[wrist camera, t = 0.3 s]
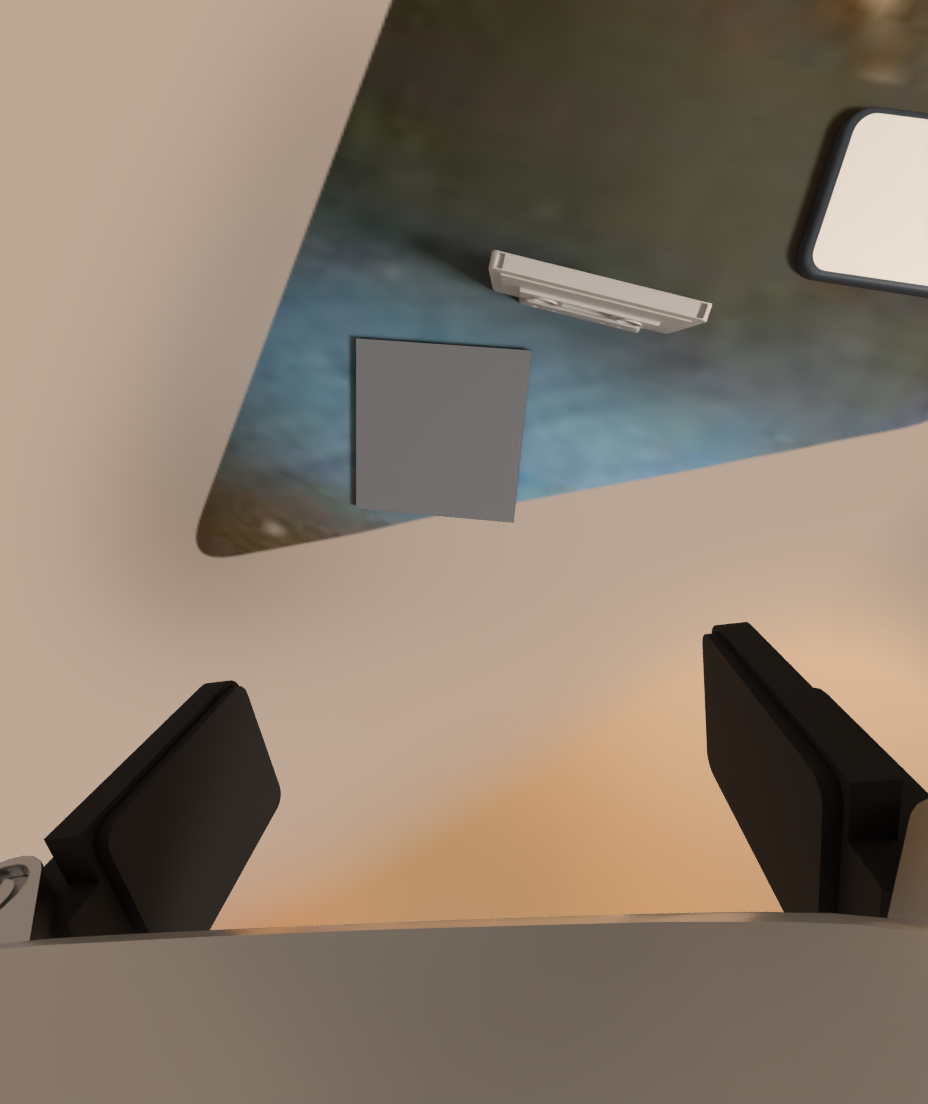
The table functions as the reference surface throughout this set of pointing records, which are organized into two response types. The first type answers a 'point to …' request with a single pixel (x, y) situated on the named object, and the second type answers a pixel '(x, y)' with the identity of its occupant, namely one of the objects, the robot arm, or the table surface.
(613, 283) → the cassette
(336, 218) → the table surface
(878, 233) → the phone case
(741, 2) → the table surface
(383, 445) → the pad
